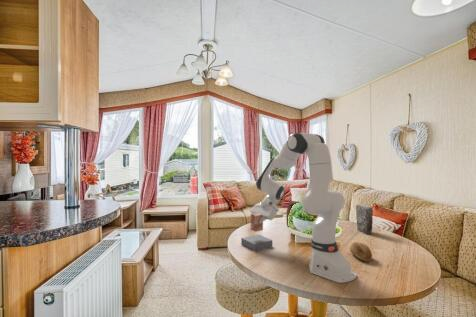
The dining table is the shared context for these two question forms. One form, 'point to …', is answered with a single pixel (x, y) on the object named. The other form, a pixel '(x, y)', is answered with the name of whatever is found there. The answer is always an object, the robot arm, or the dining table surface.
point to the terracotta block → (256, 222)
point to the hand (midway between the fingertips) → (255, 221)
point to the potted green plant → (290, 209)
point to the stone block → (364, 218)
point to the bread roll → (361, 251)
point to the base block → (256, 242)
